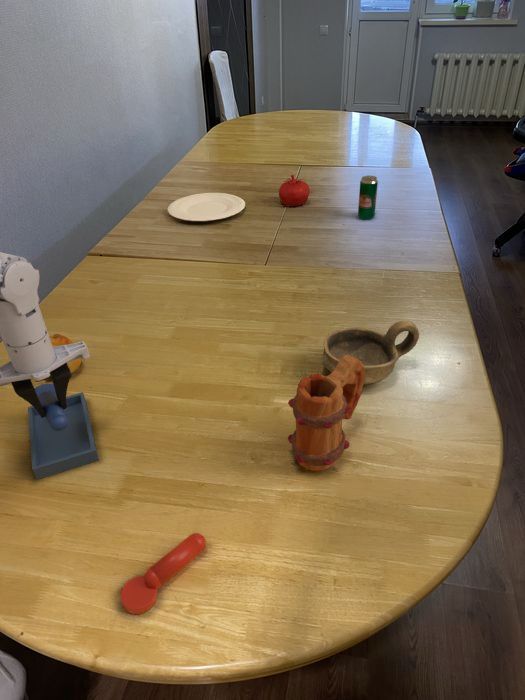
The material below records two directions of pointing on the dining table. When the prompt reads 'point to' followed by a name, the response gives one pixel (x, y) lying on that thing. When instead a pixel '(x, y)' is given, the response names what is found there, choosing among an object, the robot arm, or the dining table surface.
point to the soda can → (367, 197)
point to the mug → (325, 413)
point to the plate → (206, 207)
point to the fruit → (62, 340)
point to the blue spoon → (52, 406)
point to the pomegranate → (294, 192)
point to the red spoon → (160, 575)
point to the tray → (62, 440)
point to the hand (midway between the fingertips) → (52, 409)
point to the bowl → (370, 348)
